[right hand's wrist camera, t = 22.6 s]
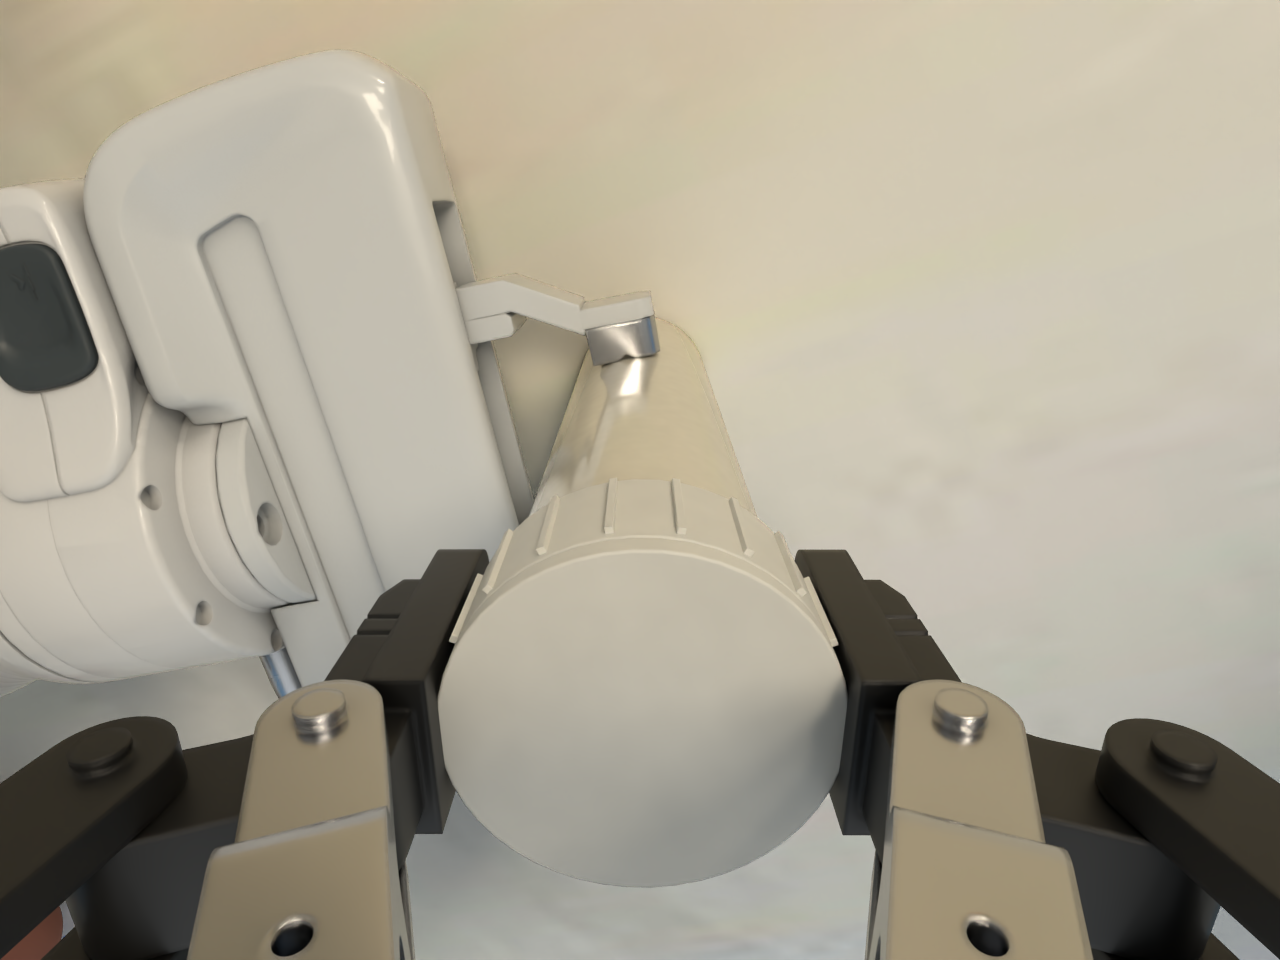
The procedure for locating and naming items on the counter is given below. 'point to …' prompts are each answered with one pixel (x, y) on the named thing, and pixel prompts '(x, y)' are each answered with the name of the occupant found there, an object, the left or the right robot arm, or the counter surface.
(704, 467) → the beige canister
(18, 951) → the figurine character
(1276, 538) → the counter surface
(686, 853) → the lid
